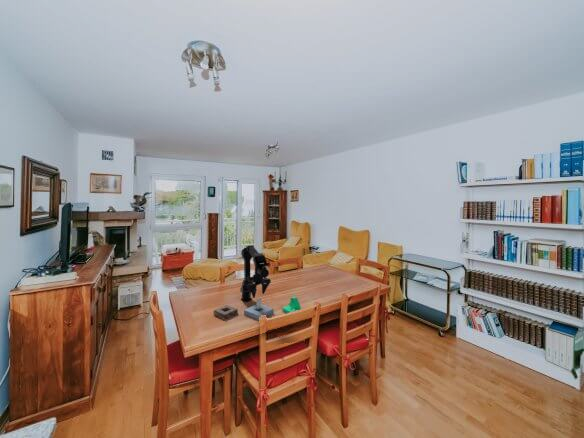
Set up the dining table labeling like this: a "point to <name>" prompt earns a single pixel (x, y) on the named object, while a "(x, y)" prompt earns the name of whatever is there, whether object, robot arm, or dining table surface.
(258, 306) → the pin
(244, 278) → the robot arm
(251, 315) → the socket plate
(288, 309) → the camera mount
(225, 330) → the dining table surface
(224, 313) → the mount block
